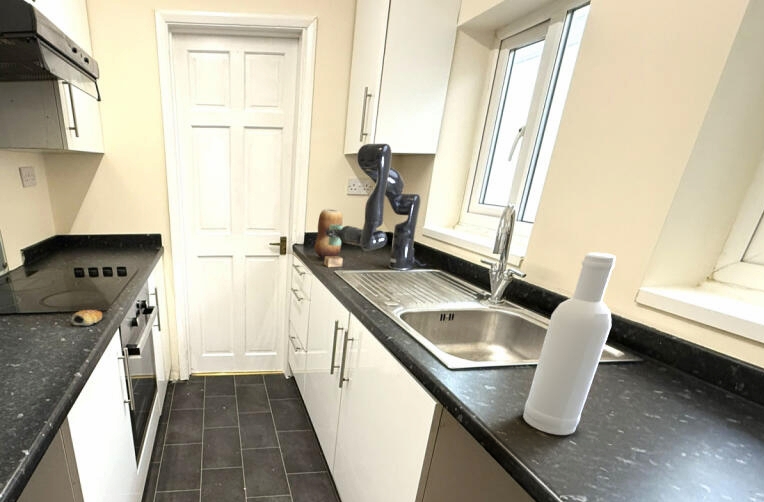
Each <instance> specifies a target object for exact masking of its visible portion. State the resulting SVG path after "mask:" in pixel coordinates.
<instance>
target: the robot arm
mask: <svg viewBox="0 0 764 502" xmlns="http://www.w3.org/2000/svg"><path fill="white" fill-rule="evenodd" d="M392 154H393V153H392V148H391V146H390V145H389V144H388V143H366V144H363V145H362V146H360V148H359V149H358V151H357V155H356V160H357V165H358V167H359V169H360V170H361V171H362V172H363V173H365V175H366V176H368V177H369V179H371V181H372V182H373V183H374V184H375V185H374V188H373V189H372V191H371V193H370V194H369V196H368V198H367V199H366V201H365V207H364V223H363V227H362V228H359V227H356V226H351V225H345V226H343V228H342V229H333V230H330V229H326V236H329V237H338V238H340V240H341V243H343V244H348V245H350V246H357V247H361V249H362V250H363V251H364V252H370V251H373V250H377V249H381V248H383V247H384V246H386V244H387V242H388V236H387V234H386V232H384V231H383V230H381V229H379V227H381V226H382V225H383V223H384V214H385V213H384V212H385V210H384V209H385V198H386V200H387V201H388V203H389V205H390V207H391V209H392V211H393V212H394V214H395V215H398V216H407V218H406V219H405V220H404V221H402V222H398V223H395V224H394V228H393V235H392V244H391V252H390V258H389V259H390V260H389V266H388V268H389V269H391V270H395V271H408V270H412V268H413V264H415V262H416V264H417V265H418V266H419V267H426V266H427V263H423V264H421V263H420V261H419V260H417V259H415V258H416V257H415V248H414V242H415V236H416V229H417V224H418V218H419V213H420V209H421V201H422V200H421V196H420V194H418V193H403V191H404V188H405V181H404V178H403V177H402V176H401V175H402V174H400V172H399V171H398V170H397V169H395V168H394V167H392V166H391V165H392Z"/></svg>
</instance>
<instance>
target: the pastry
mask: <svg viewBox="0 0 764 502" xmlns="http://www.w3.org/2000/svg"><path fill="white" fill-rule="evenodd" d="M101 320H103V312H102V311H100V310H97V309H82V310H80V311H77V312H75V313H73V314H72V317H71V318H70V322H71V324H72V325H73V326H78V327H79V326H82V327H85V326H86V327H87V326H91V325H93V324H94V323H96V324H97V323H98V322H99V321H101Z"/></svg>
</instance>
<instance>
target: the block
mask: <svg viewBox="0 0 764 502" xmlns="http://www.w3.org/2000/svg"><path fill="white" fill-rule="evenodd" d="M343 260H344V259H343V257H341V256H340V255H337V256H326V257H325V260H323V261H324V263H323V265H324V266H326V267H327V268H342V267H343Z"/></svg>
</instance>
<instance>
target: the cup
mask: <svg viewBox="0 0 764 502" xmlns="http://www.w3.org/2000/svg"><path fill="white" fill-rule="evenodd" d="M343 227H344V226H343V224H342V225H330V226H329V229H330V230H333V229H342V228H343ZM328 245H333V246H339V245H341V246H342V241H341V240H340V238H338V237H329V241H328Z"/></svg>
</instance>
